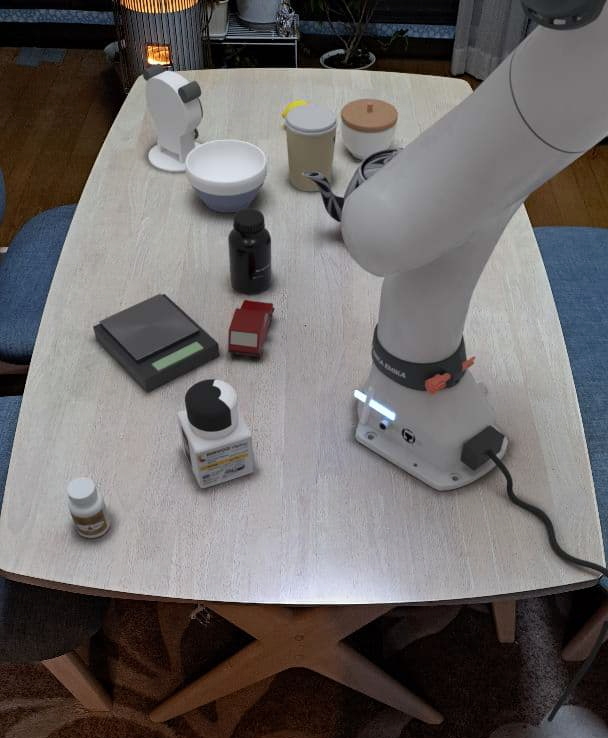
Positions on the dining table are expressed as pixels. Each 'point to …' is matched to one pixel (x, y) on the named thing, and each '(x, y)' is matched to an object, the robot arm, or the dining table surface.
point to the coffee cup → (310, 143)
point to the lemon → (292, 105)
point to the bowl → (226, 173)
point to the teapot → (361, 175)
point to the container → (215, 433)
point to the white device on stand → (172, 117)
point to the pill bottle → (87, 508)
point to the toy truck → (249, 328)
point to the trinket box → (368, 126)
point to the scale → (155, 341)
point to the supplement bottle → (249, 252)
